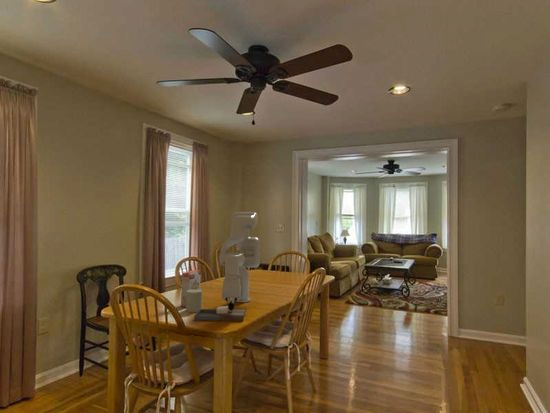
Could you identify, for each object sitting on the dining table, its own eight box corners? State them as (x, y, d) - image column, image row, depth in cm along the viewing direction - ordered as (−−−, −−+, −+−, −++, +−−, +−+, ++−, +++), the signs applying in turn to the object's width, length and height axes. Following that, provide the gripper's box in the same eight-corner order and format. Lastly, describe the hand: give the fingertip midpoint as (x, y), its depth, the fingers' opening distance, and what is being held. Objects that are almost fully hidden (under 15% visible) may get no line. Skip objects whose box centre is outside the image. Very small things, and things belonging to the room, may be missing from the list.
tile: (217, 310, 194) (217, 306, 194) (228, 310, 194) (228, 305, 194) (216, 313, 188) (216, 309, 188) (227, 313, 188) (227, 308, 188)
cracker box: (189, 307, 210) (189, 273, 211) (180, 306, 212) (181, 272, 212) (200, 302, 223) (201, 270, 224) (192, 301, 225) (193, 269, 226)
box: (199, 313, 198) (199, 308, 198) (223, 313, 198) (224, 309, 198) (194, 320, 184) (194, 315, 184) (220, 320, 184) (220, 316, 184)
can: (202, 308, 210) (202, 288, 210) (201, 312, 201) (201, 291, 201) (186, 308, 209) (187, 288, 209) (185, 312, 199) (185, 291, 200)
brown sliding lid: (224, 313, 198) (224, 308, 198) (245, 314, 198) (245, 308, 199) (220, 320, 184) (221, 315, 184) (243, 321, 184) (243, 315, 185)
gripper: (245, 275, 196) (244, 308, 195) (219, 275, 196) (218, 308, 195) (244, 278, 188) (244, 312, 188) (217, 277, 188) (216, 311, 187)
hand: (231, 309), depth 191 cm, fingers closed
